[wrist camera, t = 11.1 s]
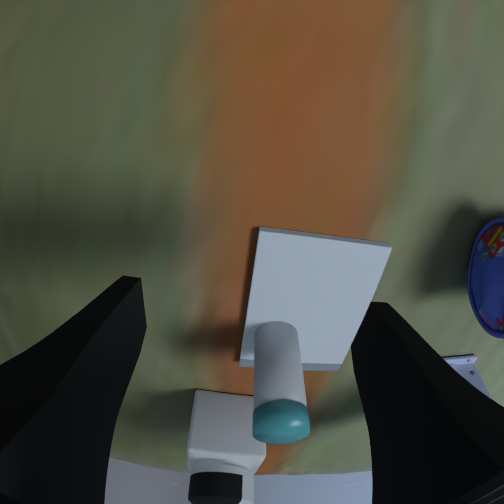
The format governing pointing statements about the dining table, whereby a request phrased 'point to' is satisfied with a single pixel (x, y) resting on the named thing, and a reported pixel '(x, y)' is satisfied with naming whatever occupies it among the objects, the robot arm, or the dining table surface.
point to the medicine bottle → (222, 449)
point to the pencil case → (488, 277)
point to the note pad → (312, 291)
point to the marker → (278, 386)
